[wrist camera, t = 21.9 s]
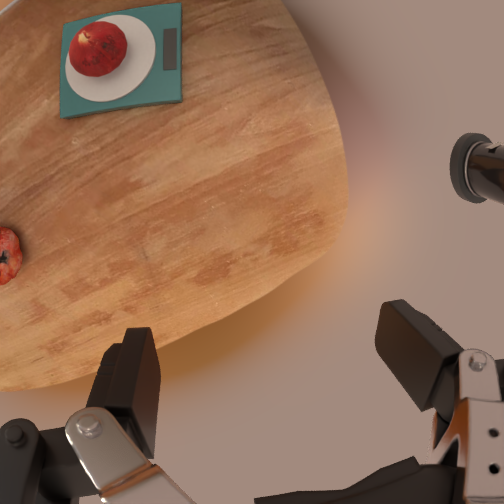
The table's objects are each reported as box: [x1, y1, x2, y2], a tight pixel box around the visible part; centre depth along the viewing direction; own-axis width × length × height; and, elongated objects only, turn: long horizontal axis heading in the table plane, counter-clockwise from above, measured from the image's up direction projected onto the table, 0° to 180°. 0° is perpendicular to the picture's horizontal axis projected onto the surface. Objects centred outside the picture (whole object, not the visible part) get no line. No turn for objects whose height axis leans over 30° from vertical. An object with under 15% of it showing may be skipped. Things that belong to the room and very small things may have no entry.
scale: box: [60, 3, 182, 119], centre depth 28 cm, size 14×12×3 cm
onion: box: [68, 21, 128, 77], centre depth 23 cm, size 6×6×8 cm
